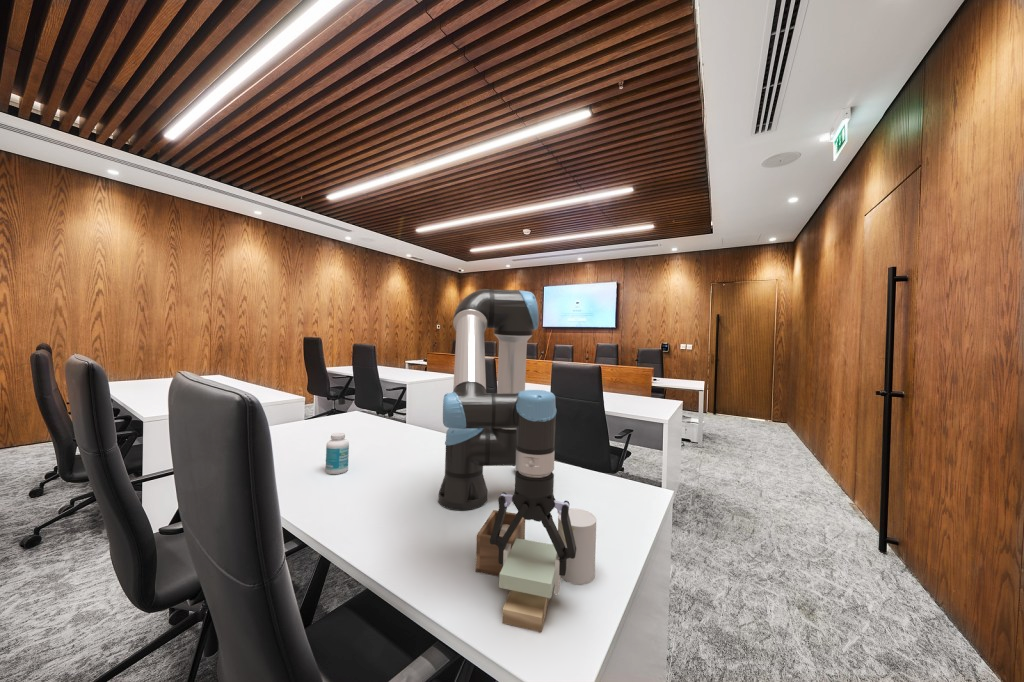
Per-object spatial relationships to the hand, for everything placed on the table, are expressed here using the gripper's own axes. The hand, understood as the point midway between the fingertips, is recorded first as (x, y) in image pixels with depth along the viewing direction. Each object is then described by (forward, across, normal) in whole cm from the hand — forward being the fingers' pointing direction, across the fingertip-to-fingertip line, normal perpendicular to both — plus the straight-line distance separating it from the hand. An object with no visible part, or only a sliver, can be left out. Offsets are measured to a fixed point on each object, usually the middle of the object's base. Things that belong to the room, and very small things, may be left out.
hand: (531, 584), depth 73 cm
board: (+2, 0, 0) cm, 2 cm away
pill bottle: (+3, -81, +43) cm, 92 cm away
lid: (-2, 0, 0) cm, 2 cm away
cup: (+3, +8, +10) cm, 13 cm away
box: (+2, -9, +10) cm, 14 cm away
